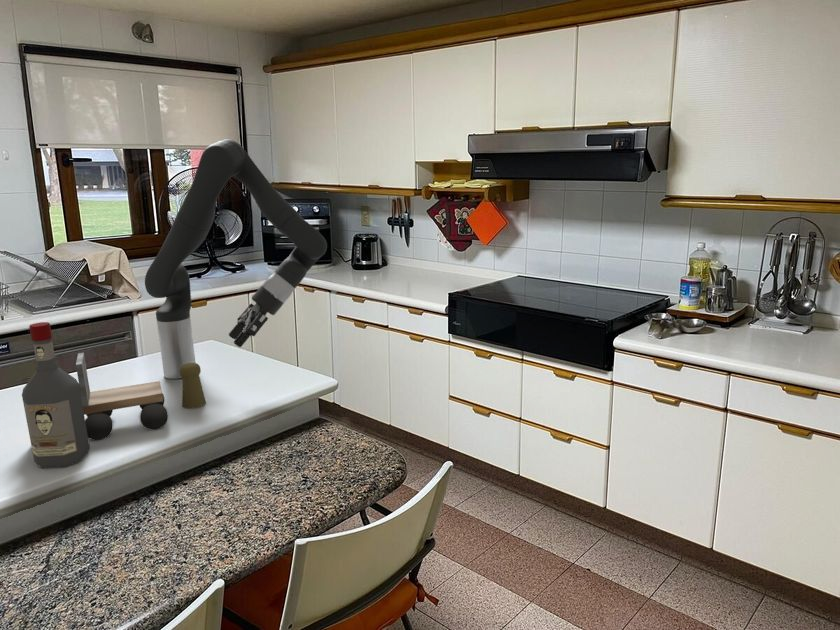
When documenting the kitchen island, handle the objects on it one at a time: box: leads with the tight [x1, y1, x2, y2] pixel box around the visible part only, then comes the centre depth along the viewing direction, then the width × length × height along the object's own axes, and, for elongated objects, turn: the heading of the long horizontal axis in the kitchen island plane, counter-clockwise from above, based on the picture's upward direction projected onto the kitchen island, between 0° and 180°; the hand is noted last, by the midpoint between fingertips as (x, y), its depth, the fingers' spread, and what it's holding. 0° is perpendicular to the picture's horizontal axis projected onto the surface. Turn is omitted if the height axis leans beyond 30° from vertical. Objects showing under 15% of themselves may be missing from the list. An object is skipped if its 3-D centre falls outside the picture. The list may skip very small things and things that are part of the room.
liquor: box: [21, 321, 91, 469], centre depth 135 cm, size 9×9×30 cm
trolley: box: [75, 352, 169, 441], centre depth 154 cm, size 14×18×18 cm
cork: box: [179, 363, 207, 409], centre depth 166 cm, size 6×6×11 cm
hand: (233, 341), depth 169 cm, fingers open, 8 cm apart
